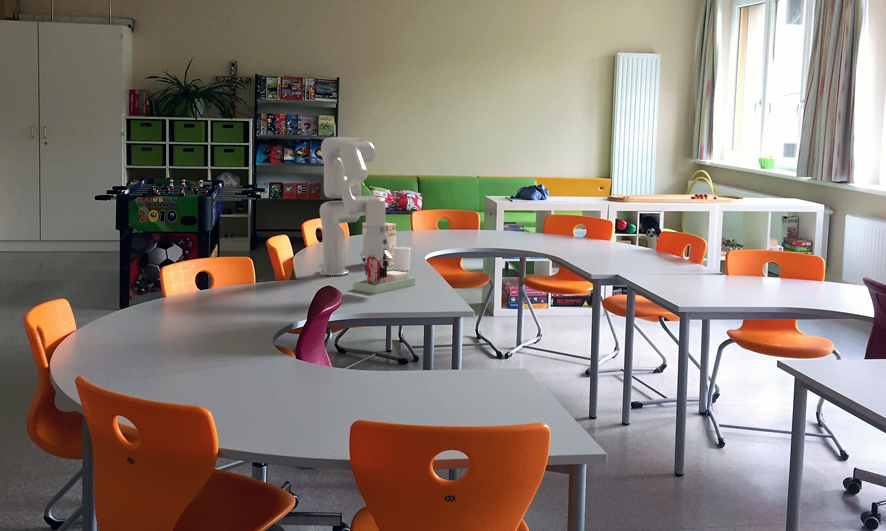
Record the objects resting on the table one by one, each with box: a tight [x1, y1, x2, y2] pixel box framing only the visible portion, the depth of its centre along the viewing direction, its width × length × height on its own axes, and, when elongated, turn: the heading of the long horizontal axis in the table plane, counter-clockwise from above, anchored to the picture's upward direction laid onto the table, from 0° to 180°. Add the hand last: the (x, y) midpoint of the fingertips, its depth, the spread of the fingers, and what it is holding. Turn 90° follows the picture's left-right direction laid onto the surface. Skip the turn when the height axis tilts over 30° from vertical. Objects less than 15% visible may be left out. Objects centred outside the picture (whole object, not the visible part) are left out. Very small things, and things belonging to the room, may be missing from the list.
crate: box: [352, 276, 416, 295], centre depth 303 cm, size 12×22×4 cm, turn 140°
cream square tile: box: [385, 270, 409, 283], centre depth 307 cm, size 8×7×5 cm
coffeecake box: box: [361, 222, 397, 267], centre depth 361 cm, size 15×7×20 cm, turn 58°
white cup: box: [393, 246, 412, 272], centre depth 348 cm, size 8×8×10 cm
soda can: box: [366, 255, 385, 285], centre depth 299 cm, size 7×7×12 cm
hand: (376, 275), depth 299 cm, fingers closed on soda can, 7 cm apart
